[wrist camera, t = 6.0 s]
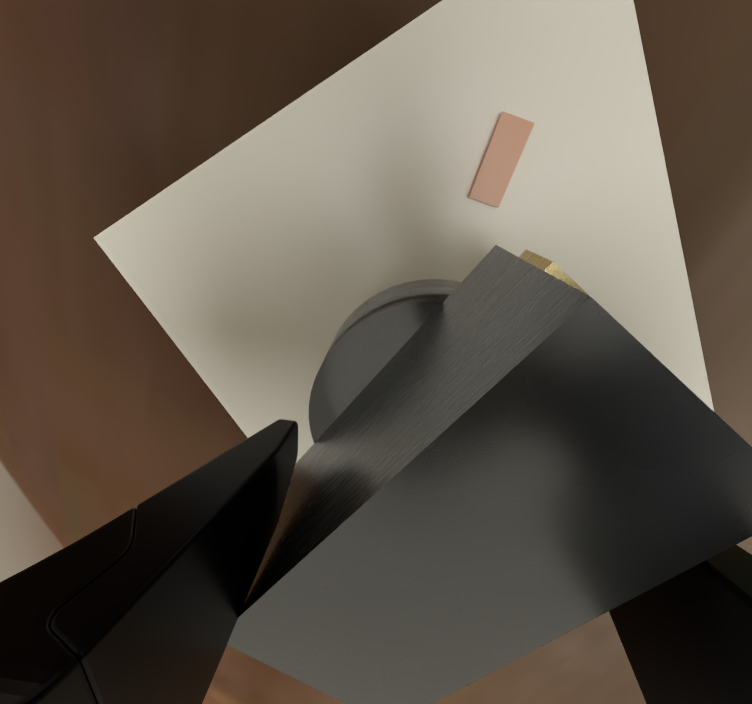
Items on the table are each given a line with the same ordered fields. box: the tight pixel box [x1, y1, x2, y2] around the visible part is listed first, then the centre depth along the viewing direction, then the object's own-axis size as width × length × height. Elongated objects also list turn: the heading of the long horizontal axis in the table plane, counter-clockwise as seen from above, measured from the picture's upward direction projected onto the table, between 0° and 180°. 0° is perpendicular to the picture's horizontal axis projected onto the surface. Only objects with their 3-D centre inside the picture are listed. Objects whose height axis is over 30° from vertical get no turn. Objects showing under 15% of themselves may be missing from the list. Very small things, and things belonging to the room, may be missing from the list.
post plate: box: [94, 0, 714, 463], centre depth 13 cm, size 18×18×4 cm
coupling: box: [227, 245, 752, 704], centre depth 8 cm, size 8×6×6 cm
